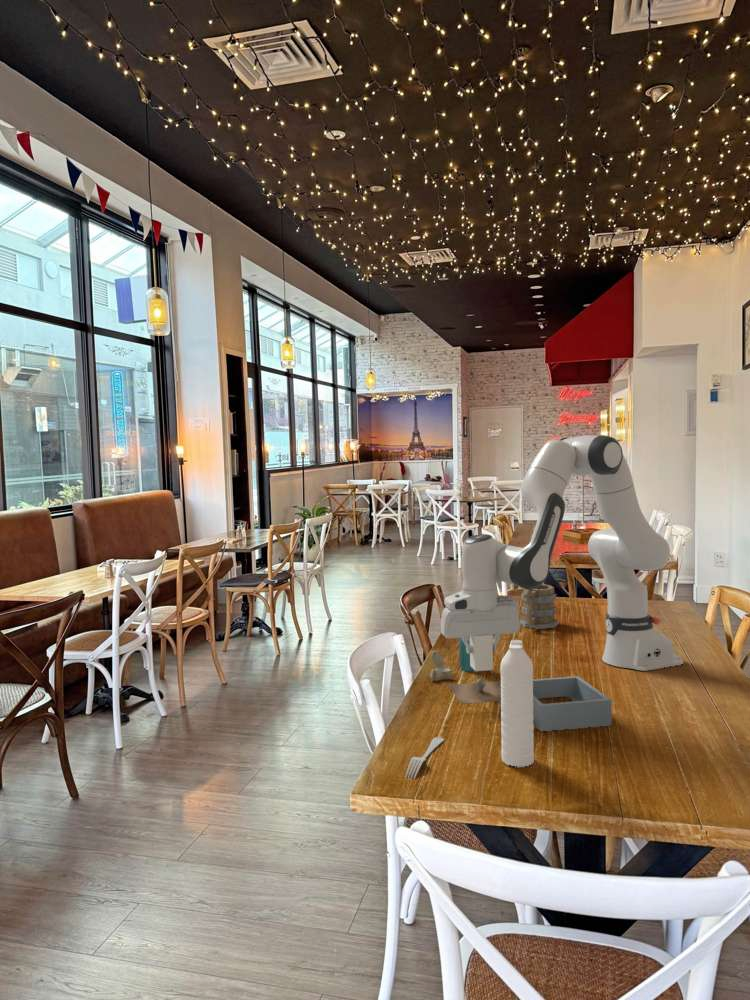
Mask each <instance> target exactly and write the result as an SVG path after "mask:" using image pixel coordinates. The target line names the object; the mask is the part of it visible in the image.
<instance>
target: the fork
mask: <svg viewBox="0 0 750 1000" xmlns="http://www.w3.org/2000/svg"><path fill="white" fill-rule="evenodd" d="M443 738H444V737H438V738H437V736H436V737H434V738H432V739H431V742H430V744H429V746H428V747H427V750H426V752H425V753H424V754H423V756H422V757H418V756H412V757H411V758H410V761H409V763H408V766H407V770H406V772H405V777H404V779H410V780H411V779H412V780H413V779H414V780H415V779H416V778H417V777H416V776H417V775H418V773H419V771H420V769H421V766H422V764H423V763H424V762H425V761H426V760H427V758H428V756H430V754H431V753H432V752H433V751H434V750H435V749H436V748H437V747H438V746H439V745H441V743H443V742H444V741H445V740H446V739H445V738H444V739H443Z"/></svg>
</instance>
